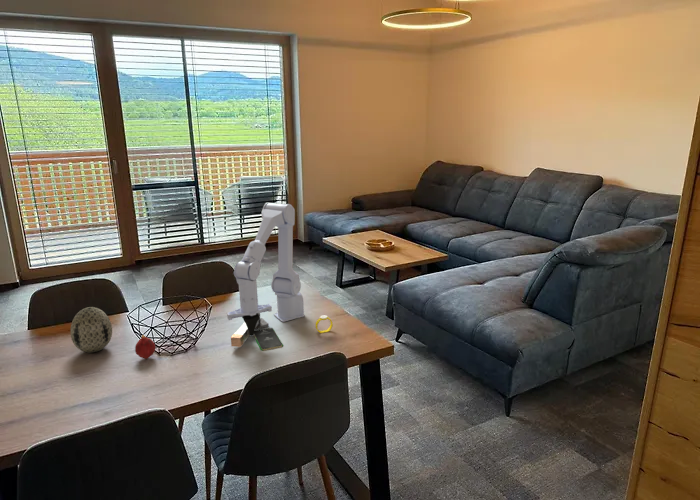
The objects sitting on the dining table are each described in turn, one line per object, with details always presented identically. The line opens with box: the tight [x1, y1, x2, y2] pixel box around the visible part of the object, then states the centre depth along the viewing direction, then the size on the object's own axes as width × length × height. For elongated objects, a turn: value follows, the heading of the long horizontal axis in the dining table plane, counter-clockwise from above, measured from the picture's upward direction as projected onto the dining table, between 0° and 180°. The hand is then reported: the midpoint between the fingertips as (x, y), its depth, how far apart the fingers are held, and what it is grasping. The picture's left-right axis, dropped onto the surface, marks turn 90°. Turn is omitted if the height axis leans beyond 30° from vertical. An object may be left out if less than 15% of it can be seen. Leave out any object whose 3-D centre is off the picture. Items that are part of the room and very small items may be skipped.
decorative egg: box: [70, 306, 113, 354], centre depth 151 cm, size 12×12×15 cm
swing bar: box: [230, 313, 261, 348], centre depth 161 cm, size 3×20×3 cm, turn 171°
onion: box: [134, 334, 156, 360], centre depth 147 cm, size 6×6×8 cm
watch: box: [314, 314, 334, 334], centre depth 165 cm, size 6×3×6 cm, turn 112°
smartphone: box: [253, 327, 284, 352], centre depth 160 cm, size 8×1×15 cm
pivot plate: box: [254, 317, 270, 331], centre depth 170 cm, size 7×6×1 cm
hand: (251, 334), depth 157 cm, fingers closed
